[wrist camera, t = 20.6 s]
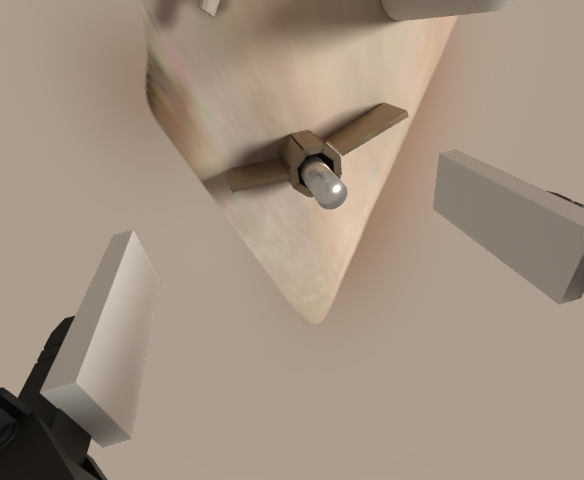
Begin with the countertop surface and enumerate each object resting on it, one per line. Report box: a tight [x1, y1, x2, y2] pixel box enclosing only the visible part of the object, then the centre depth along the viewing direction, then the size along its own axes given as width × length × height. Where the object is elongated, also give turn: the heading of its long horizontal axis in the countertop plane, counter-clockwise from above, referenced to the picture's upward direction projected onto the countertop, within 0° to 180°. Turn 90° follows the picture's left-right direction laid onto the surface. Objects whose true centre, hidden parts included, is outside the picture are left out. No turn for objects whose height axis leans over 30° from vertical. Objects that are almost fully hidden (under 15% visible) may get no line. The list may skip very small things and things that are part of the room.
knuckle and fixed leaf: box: [228, 130, 342, 197], centre depth 45 cm, size 7×15×8 cm, turn 99°
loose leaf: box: [326, 103, 408, 156], centre depth 45 cm, size 10×1×6 cm, turn 118°
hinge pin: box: [297, 154, 347, 209], centre depth 42 cm, size 4×4×15 cm
